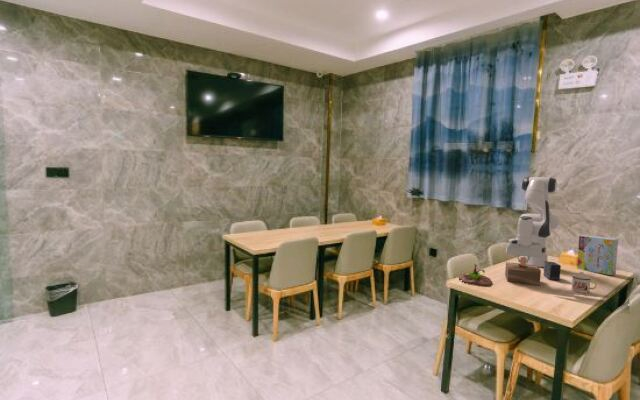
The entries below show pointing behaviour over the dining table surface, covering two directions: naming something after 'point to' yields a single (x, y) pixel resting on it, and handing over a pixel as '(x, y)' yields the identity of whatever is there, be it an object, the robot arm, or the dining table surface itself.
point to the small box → (552, 270)
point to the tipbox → (523, 274)
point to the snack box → (597, 254)
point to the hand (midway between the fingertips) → (522, 262)
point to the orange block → (523, 261)
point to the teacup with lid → (581, 283)
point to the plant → (476, 278)
